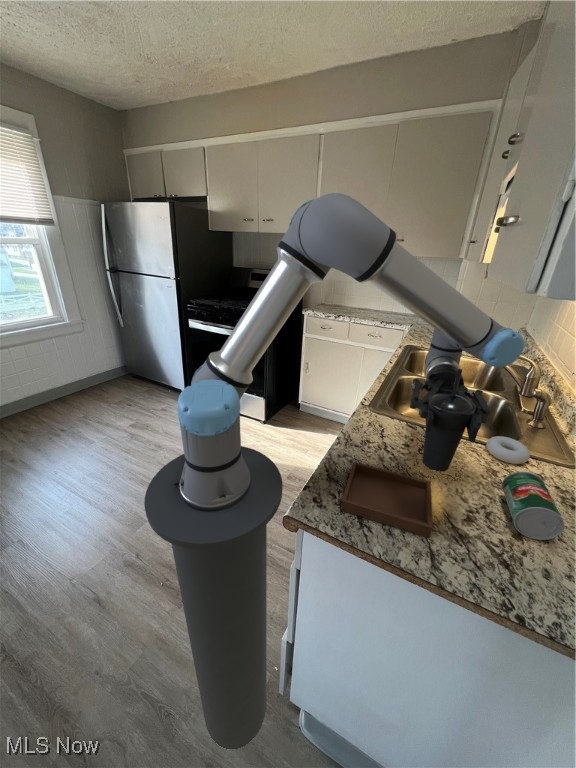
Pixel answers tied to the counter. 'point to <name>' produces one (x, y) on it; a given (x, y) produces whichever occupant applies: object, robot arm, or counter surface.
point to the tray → (389, 498)
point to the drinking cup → (446, 427)
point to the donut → (508, 450)
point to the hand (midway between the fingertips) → (451, 429)
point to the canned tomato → (532, 506)
